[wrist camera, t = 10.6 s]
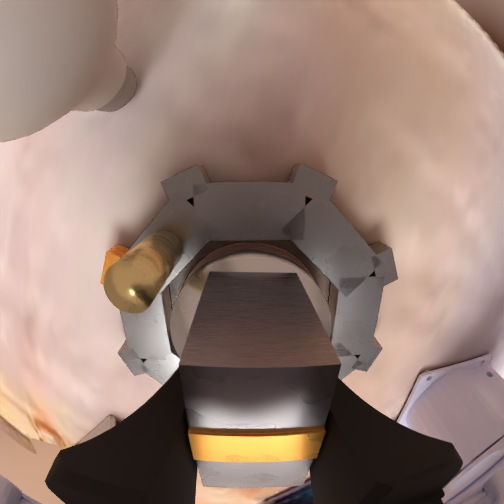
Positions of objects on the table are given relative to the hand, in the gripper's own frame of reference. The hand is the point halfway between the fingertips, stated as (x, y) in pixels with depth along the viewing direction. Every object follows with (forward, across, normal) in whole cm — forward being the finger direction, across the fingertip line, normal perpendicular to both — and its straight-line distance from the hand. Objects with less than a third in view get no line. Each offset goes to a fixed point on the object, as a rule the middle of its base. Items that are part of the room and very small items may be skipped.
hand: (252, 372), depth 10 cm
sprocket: (+5, 0, 0) cm, 5 cm away
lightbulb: (+5, +7, -12) cm, 15 cm away
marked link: (+2, 0, 0) cm, 2 cm away
